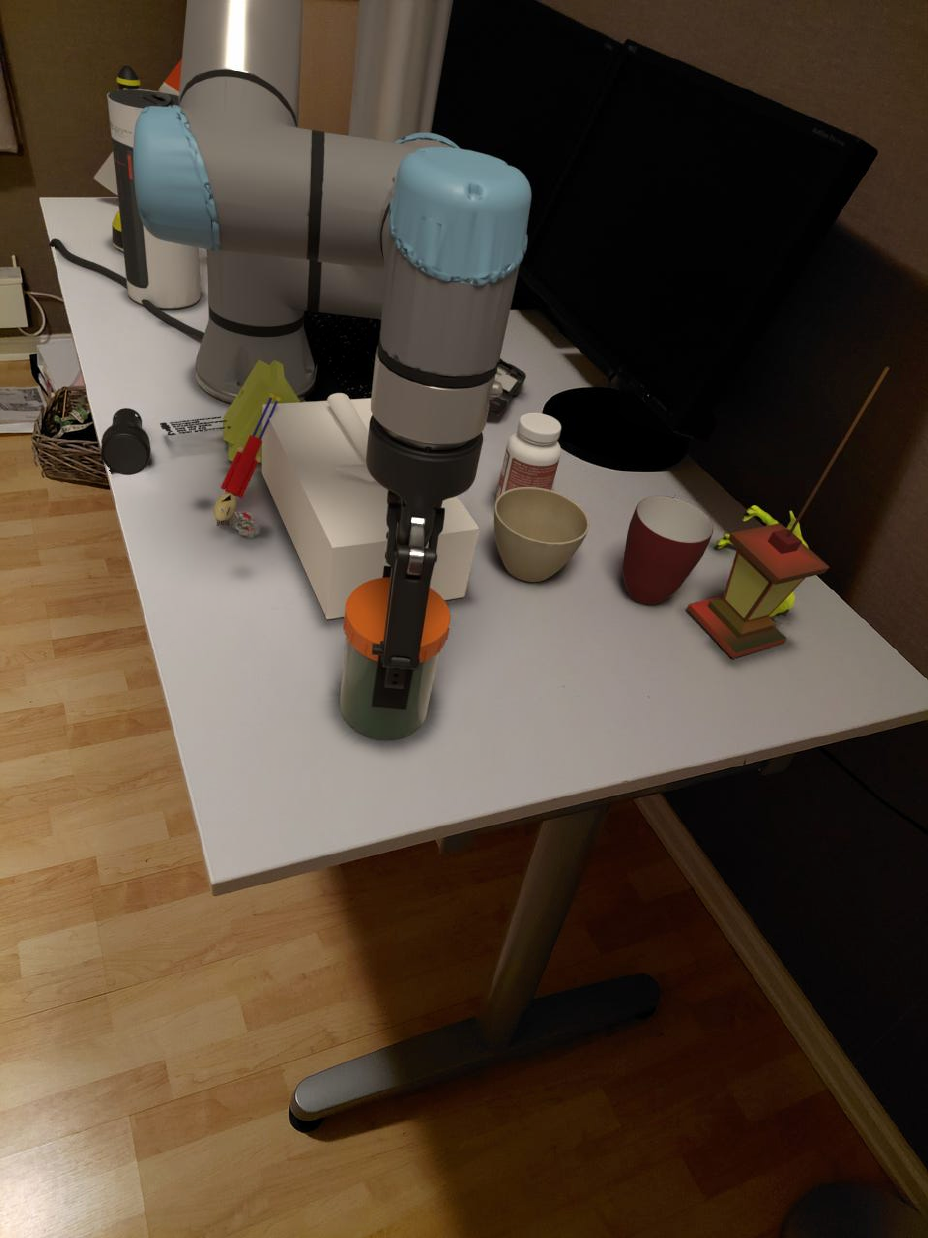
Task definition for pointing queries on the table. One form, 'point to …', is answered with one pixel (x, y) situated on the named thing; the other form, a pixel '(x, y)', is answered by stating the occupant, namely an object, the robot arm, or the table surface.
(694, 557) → the mug
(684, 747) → the table surface
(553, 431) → the pill bottle
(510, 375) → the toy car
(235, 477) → the figurine
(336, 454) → the hammer relief block
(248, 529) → the figurine
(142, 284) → the speaker
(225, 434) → the bracket
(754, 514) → the dinosaur figurine
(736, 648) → the light fixture
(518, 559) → the flower pot
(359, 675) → the jar
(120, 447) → the flashlight
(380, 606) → the lid
